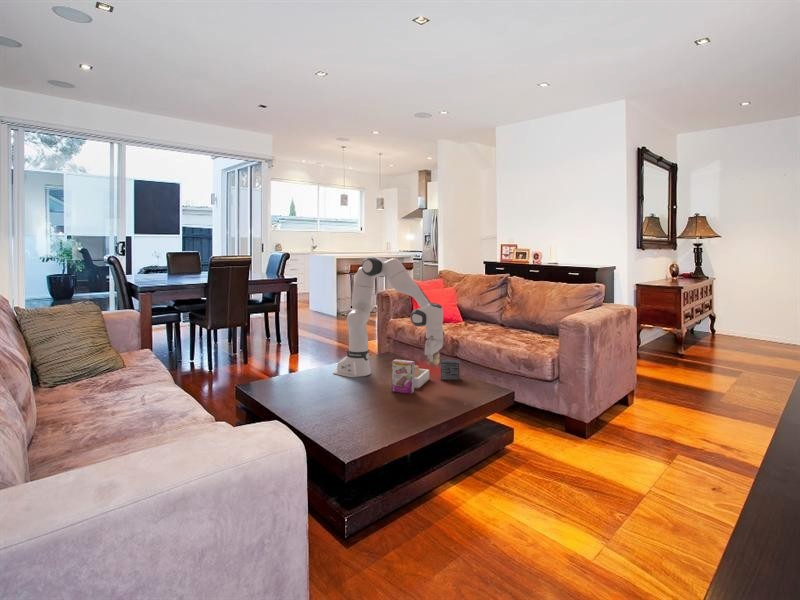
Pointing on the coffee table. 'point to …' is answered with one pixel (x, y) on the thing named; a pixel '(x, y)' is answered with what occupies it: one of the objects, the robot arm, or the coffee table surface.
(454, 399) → the coffee table surface
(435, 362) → the maple cube
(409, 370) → the candy bar box
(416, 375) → the peach capsule
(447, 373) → the small box
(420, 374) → the white tote
